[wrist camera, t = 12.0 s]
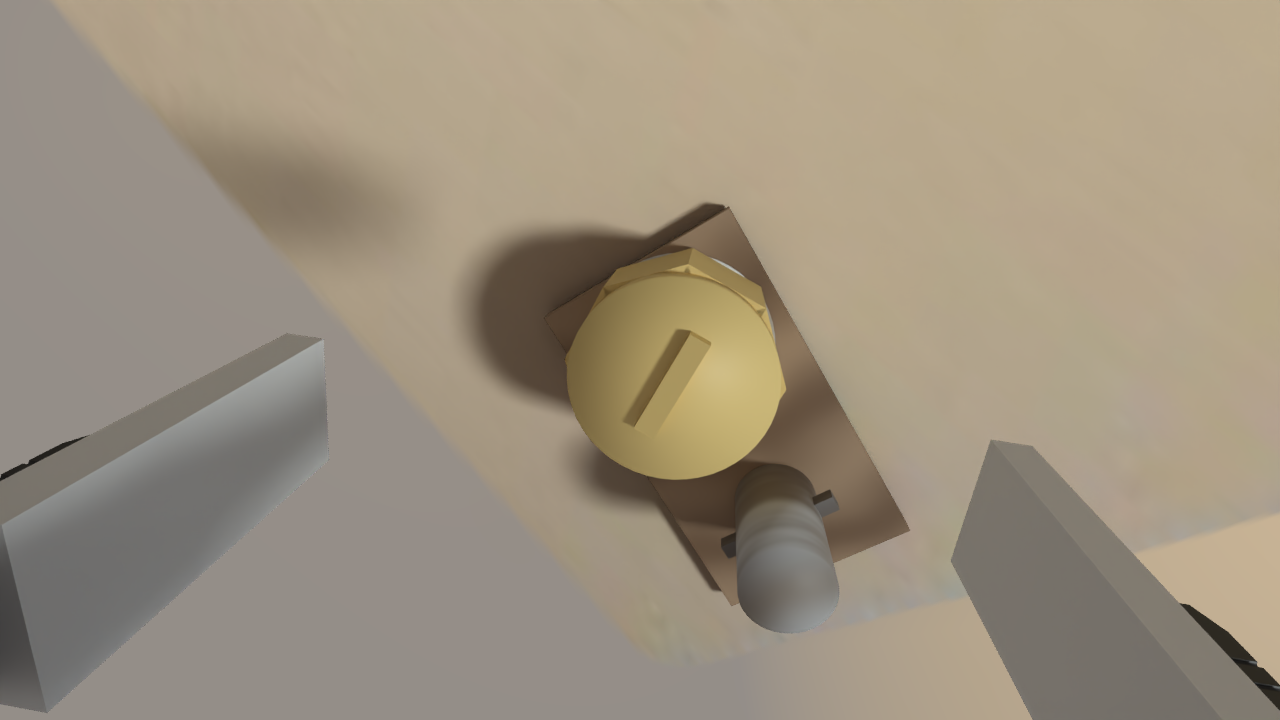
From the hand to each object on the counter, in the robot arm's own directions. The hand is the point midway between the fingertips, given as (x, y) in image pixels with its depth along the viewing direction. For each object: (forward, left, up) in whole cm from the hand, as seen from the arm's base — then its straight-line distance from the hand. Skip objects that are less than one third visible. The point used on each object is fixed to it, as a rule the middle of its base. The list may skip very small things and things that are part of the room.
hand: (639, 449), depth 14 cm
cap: (+4, -3, -22) cm, 22 cm away
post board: (+9, -3, -23) cm, 25 cm away
